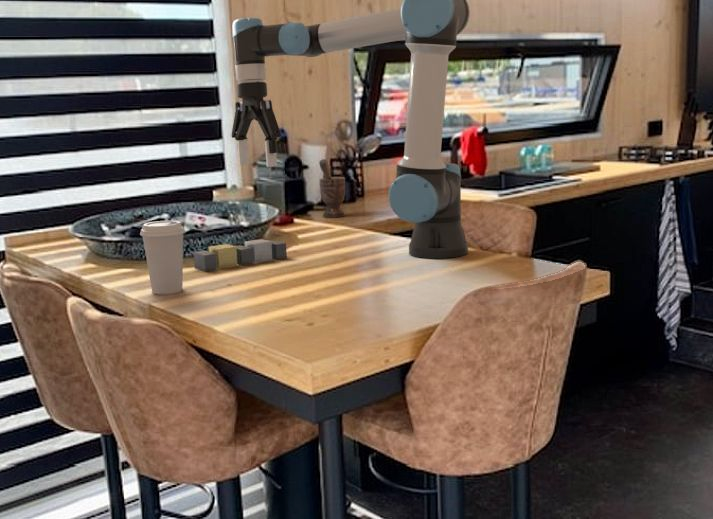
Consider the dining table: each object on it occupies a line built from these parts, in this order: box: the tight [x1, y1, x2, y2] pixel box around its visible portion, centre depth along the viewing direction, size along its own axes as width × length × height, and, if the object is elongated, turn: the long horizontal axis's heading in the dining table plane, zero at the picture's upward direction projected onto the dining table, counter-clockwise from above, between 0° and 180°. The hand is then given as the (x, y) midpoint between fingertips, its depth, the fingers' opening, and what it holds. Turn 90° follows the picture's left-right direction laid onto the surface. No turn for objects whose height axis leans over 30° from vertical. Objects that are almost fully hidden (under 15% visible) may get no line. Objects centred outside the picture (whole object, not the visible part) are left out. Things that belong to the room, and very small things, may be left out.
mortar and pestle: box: [319, 158, 346, 219], centre depth 285 cm, size 12×9×20 cm
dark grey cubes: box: [193, 239, 288, 272], centre depth 213 cm, size 6×23×4 cm, turn 126°
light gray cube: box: [244, 238, 273, 264], centre depth 216 cm, size 5×5×5 cm
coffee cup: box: [139, 220, 186, 296], centre depth 184 cm, size 10×10×15 cm
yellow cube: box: [208, 243, 238, 270], centre depth 211 cm, size 5×5×5 cm
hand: (257, 165), depth 219 cm, fingers open, 13 cm apart
